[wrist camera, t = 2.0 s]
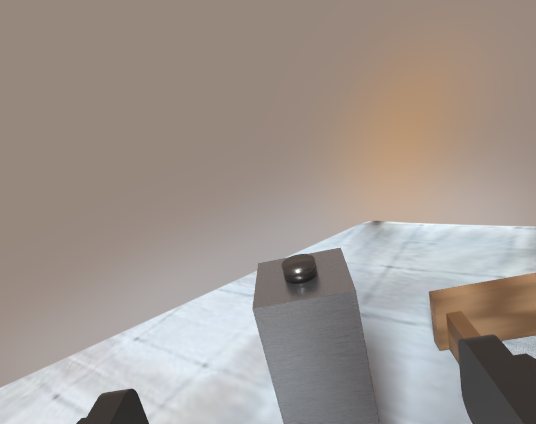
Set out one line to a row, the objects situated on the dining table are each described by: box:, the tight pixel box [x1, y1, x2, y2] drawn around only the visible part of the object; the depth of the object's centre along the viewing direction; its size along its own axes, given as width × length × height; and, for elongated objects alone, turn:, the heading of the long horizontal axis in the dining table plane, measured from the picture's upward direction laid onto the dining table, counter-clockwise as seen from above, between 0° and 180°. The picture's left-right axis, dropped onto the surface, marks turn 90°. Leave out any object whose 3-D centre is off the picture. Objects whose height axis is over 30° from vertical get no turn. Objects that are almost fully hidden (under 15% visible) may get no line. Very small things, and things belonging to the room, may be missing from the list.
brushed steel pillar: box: [253, 248, 379, 424], centre depth 23 cm, size 5×5×15 cm
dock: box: [429, 273, 536, 363], centre depth 29 cm, size 11×8×5 cm
